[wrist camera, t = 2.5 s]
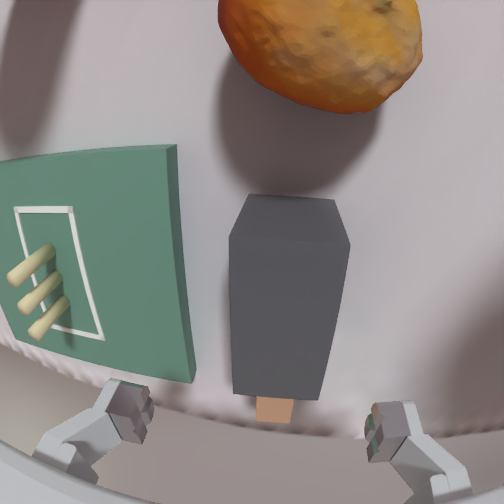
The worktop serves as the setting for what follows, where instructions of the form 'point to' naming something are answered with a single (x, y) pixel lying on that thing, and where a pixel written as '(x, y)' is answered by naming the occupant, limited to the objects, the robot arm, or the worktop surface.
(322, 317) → the block
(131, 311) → the board
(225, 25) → the fruit
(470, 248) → the worktop surface
